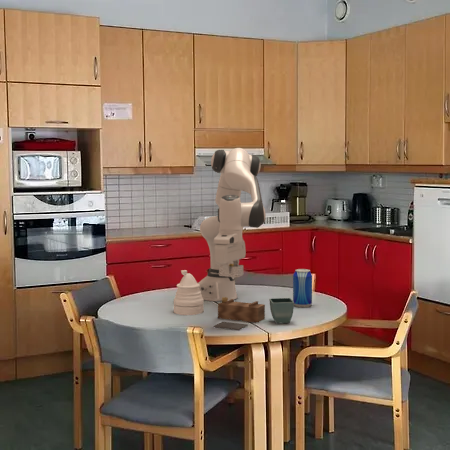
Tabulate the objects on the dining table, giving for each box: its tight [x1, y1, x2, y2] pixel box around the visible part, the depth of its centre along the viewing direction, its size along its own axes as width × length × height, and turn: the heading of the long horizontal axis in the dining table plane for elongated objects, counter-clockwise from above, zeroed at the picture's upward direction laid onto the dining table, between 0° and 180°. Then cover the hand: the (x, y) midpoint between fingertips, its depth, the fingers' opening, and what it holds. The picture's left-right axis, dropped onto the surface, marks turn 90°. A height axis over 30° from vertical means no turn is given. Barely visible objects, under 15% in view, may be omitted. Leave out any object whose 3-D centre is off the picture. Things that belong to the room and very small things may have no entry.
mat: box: [213, 321, 249, 331], centre depth 268 cm, size 11×8×1 cm
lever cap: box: [219, 264, 244, 278], centre depth 266 cm, size 8×5×5 cm, turn 63°
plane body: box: [217, 297, 266, 323], centre depth 281 cm, size 18×7×8 cm, turn 63°
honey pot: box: [173, 269, 205, 316], centre depth 294 cm, size 13×13×18 cm
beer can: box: [292, 268, 313, 308], centre depth 305 cm, size 8×8×16 cm
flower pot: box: [268, 297, 295, 324], centre depth 275 cm, size 9×9×9 cm
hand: (231, 272), depth 266 cm, fingers closed on lever cap, 5 cm apart
